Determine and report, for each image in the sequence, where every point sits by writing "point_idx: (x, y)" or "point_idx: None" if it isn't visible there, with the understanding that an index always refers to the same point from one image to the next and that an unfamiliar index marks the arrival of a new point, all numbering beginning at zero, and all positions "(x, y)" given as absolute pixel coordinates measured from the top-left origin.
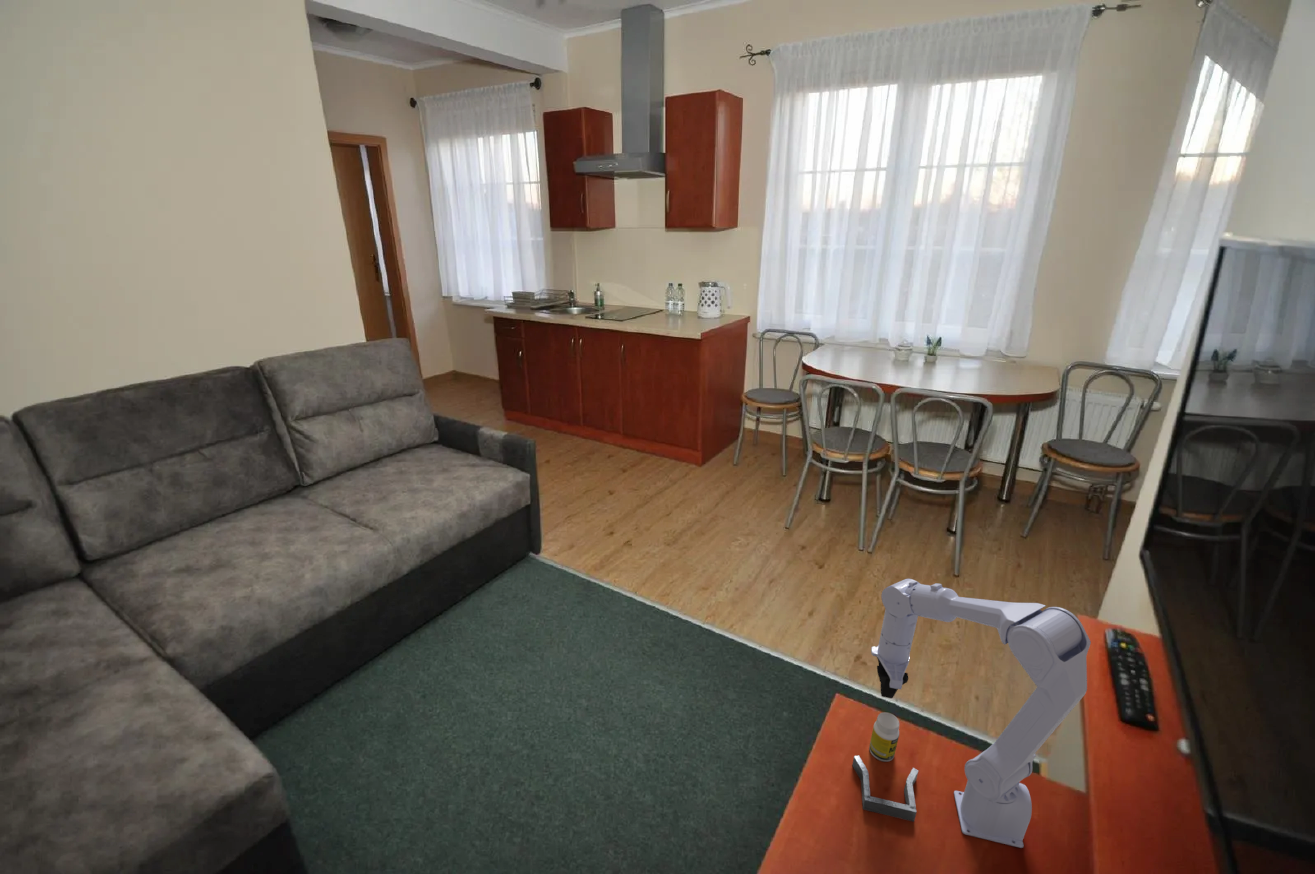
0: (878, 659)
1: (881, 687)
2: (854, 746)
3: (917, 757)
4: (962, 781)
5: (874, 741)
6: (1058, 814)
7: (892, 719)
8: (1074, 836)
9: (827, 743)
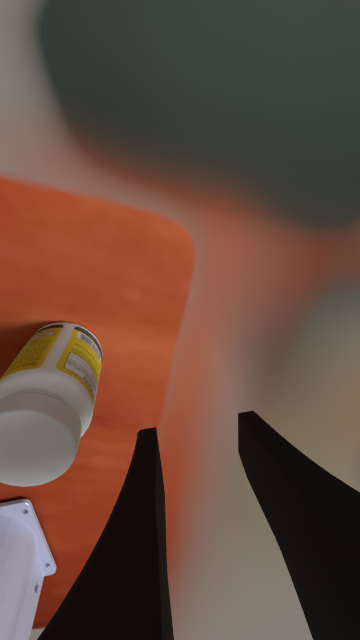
0: (339, 547)
1: (123, 488)
2: (45, 278)
3: (93, 429)
4: (72, 505)
5: (16, 357)
6: None
7: (41, 463)
8: None
9: (6, 183)
